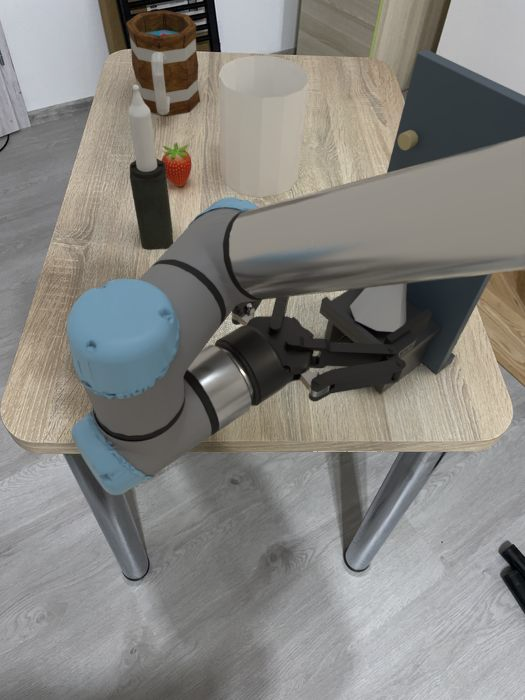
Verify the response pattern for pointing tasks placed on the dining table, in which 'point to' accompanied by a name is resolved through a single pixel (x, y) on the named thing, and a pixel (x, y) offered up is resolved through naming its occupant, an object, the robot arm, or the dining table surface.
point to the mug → (165, 61)
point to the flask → (381, 307)
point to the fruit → (177, 164)
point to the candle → (148, 180)
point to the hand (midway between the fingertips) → (380, 283)
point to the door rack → (424, 146)
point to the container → (261, 124)
